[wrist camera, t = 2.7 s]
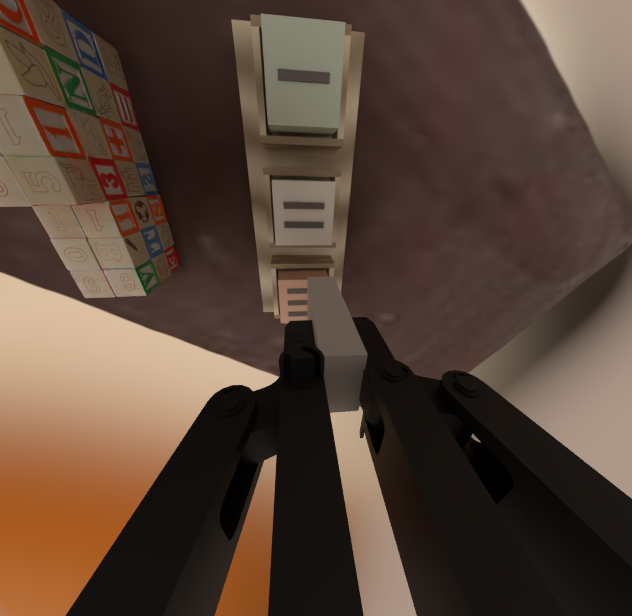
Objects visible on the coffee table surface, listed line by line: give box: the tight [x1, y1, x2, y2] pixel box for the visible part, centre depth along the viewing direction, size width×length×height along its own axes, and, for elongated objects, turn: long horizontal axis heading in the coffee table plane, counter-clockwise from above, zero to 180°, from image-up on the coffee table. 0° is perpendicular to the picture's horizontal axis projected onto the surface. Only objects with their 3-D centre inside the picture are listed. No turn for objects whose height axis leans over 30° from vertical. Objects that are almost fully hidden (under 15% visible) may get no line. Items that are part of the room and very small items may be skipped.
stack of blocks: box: [0, 0, 180, 298], centre depth 20 cm, size 21×6×12 cm, turn 179°
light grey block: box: [261, 14, 346, 135], centre depth 19 cm, size 6×6×4 cm
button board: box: [231, 14, 365, 318], centre depth 27 cm, size 30×12×5 cm, turn 178°
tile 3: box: [278, 269, 328, 323], centre depth 29 cm, size 6×6×4 cm
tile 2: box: [272, 180, 336, 245], centre depth 24 cm, size 6×6×4 cm
